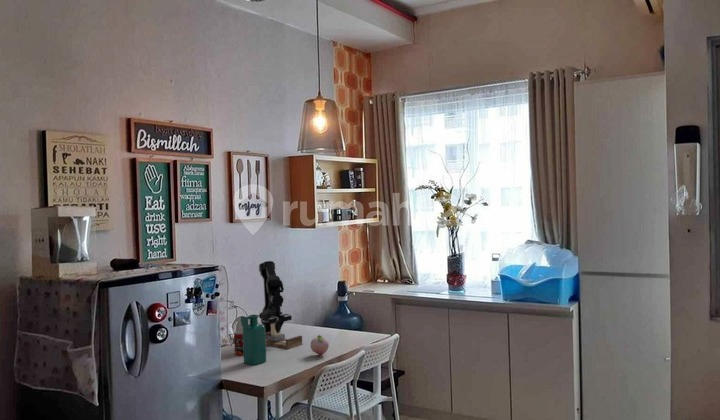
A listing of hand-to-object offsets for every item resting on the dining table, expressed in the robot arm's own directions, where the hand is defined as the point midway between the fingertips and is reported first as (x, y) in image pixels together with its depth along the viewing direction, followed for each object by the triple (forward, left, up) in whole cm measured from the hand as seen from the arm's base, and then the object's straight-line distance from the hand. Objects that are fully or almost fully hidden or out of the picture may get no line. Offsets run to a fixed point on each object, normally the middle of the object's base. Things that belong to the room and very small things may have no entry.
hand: (275, 332), depth 309 cm
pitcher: (+18, -31, -6) cm, 36 cm away
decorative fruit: (+36, -6, -6) cm, 37 cm away
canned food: (+1, -23, -6) cm, 24 cm away
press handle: (0, 0, -4) cm, 4 cm away
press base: (+3, 0, -6) cm, 6 cm away
